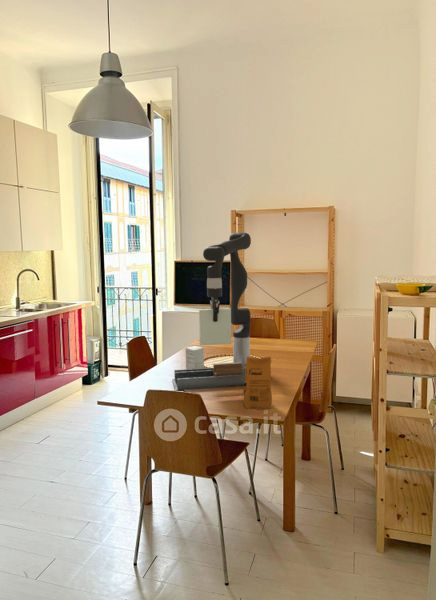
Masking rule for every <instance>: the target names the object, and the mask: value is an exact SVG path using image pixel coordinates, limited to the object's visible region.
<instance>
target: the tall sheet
mask: <svg viewBox="0 0 436 600" xmlns="http://www.w3.org/2000/svg"><path fill="white" fill-rule="evenodd" d="M215 311H217V310H215ZM198 321H199V322H198V324H199V325H198V328H199V330H198V331H199V346H215V345H217V346H218V345H230V344H232V323H231V307H230V308H229V307H227V308H226V307H225V308H219V313H218V321H217V322H214V321H213V310H212V309H211V308H206V309H203V308H202V309H198Z"/></svg>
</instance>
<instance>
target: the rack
mask: <svg viewBox="0 0 436 600" xmlns="http://www.w3.org/2000/svg"><path fill="white" fill-rule="evenodd" d="M242 368H243V375H228V376H214V373H213V367H204V368H199V369H186V368H185V369H174V370H173V371H174V372H173V374H174V378H172V380H171V381H172V385H173V388H174V391H175V390H176V391H184V392H185V391H189V390H192V391H193V390H204V389H205V390H206V389H220V388H222V389H223V388H235V387H244V382H245V374H246V367H245V366H242Z"/></svg>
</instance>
